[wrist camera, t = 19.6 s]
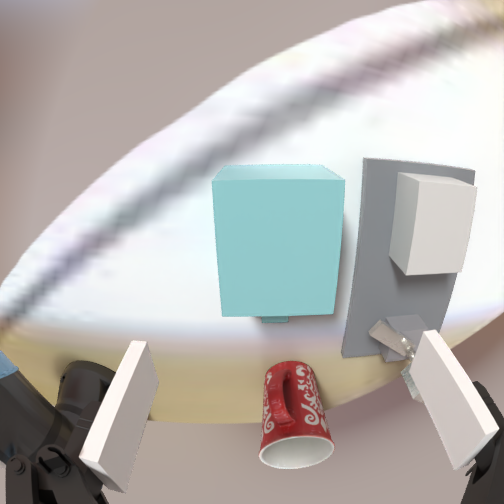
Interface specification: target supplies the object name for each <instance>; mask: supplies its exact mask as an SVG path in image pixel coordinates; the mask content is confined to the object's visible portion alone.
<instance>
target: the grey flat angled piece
mask: <svg viewBox="0 0 504 504" xmlns="http://www.w3.org/2000/svg"><path fill="white" fill-rule="evenodd" d="M368 332H369V334H370V336H372V337H373V338H375V339H377V340H378V341H380V342H381V343H383V344H385V345H386V346H388V347H390V348H391V349H393V350H395V351H396V352H398V353H399V354H401V355H403V356H405V355H407V357H408V359H409V360H410V362H411V363H410V364H409V365H408V366H407V367H406V368H405V369H404V370H402V371H401V374H402V376H403V378H404V380H405V383H406V385H407V387H408V389H409V391H410V393H411V396H412V398H413V399H414V400H417V401H419V402H421V403H423V404H425V403H424V401H423V399H422V397H421V395H420V393H419V391H418V389H417V387H416V385H415V383H414V381H413V379H412V377H411V375H410V373H409V370H410V368H411V365H412V363H413V360H414V357H415V354H416V351H415V350H414V347H415V344H414V342H413V341H411V340H410V339H408V338H407V337H405V336H404V335H402V334H401V333H400V332H398V331H397V330H395V329H394V328H392V327H391V326H389V325H388V324H386V323H385V322H383V321H382V320H379V321H378V322H377V323H376V324H375V325H374V326H373V327H372V328H371V329H370V330H369V331H368Z"/></svg>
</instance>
